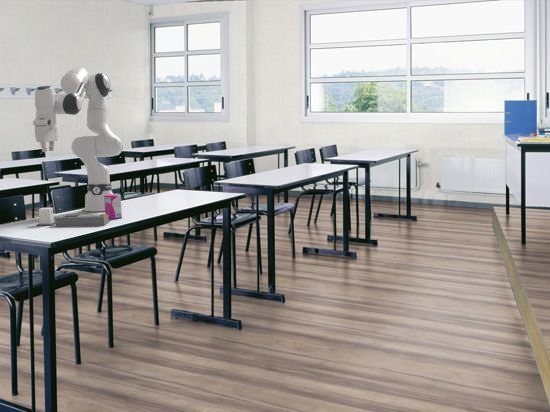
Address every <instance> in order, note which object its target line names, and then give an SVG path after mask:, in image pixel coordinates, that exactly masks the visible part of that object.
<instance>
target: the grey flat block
mask: <svg viewBox="0 0 550 412" xmlns="http://www.w3.org/2000/svg"><path fill="white" fill-rule="evenodd" d="M111 220H112V219H110V218H108V214H105V212H103V213H100V214H60V215H57V216H56V217H54V222H55V224H54V226H55V227H99V226H100V227H102V226H103V227H104V226H106V225H108V224H109V223H110V221H111Z"/></svg>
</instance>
